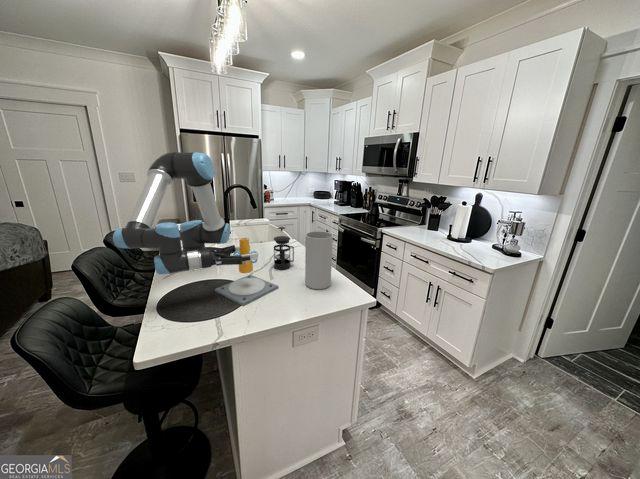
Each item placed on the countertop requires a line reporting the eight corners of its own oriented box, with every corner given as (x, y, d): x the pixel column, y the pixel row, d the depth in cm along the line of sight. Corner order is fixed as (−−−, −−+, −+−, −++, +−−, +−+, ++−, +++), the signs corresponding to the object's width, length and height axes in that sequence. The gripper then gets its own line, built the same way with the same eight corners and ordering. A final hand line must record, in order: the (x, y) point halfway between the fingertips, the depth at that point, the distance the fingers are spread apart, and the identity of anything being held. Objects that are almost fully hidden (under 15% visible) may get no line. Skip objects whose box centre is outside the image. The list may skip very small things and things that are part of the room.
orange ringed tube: (264, 268, 117) (262, 237, 113) (251, 277, 108) (249, 243, 104) (241, 264, 121) (239, 234, 117) (227, 273, 112) (224, 240, 107)
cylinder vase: (328, 291, 118) (330, 239, 110) (302, 288, 120) (302, 237, 112) (332, 279, 129) (334, 232, 122) (308, 277, 131) (308, 230, 124)
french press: (273, 271, 138) (272, 229, 131) (272, 264, 147) (270, 225, 140) (294, 269, 141) (294, 229, 134) (292, 263, 150) (292, 224, 143)
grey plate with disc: (214, 291, 115) (214, 287, 114) (250, 276, 130) (250, 272, 130) (243, 306, 104) (243, 301, 103) (278, 288, 119) (278, 283, 119)
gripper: (198, 258, 114) (247, 251, 125) (204, 279, 94) (261, 269, 105) (196, 242, 112) (246, 237, 123) (202, 260, 92) (261, 251, 103)
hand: (253, 251), depth 114 cm, fingers closed on orange ringed tube, 11 cm apart
